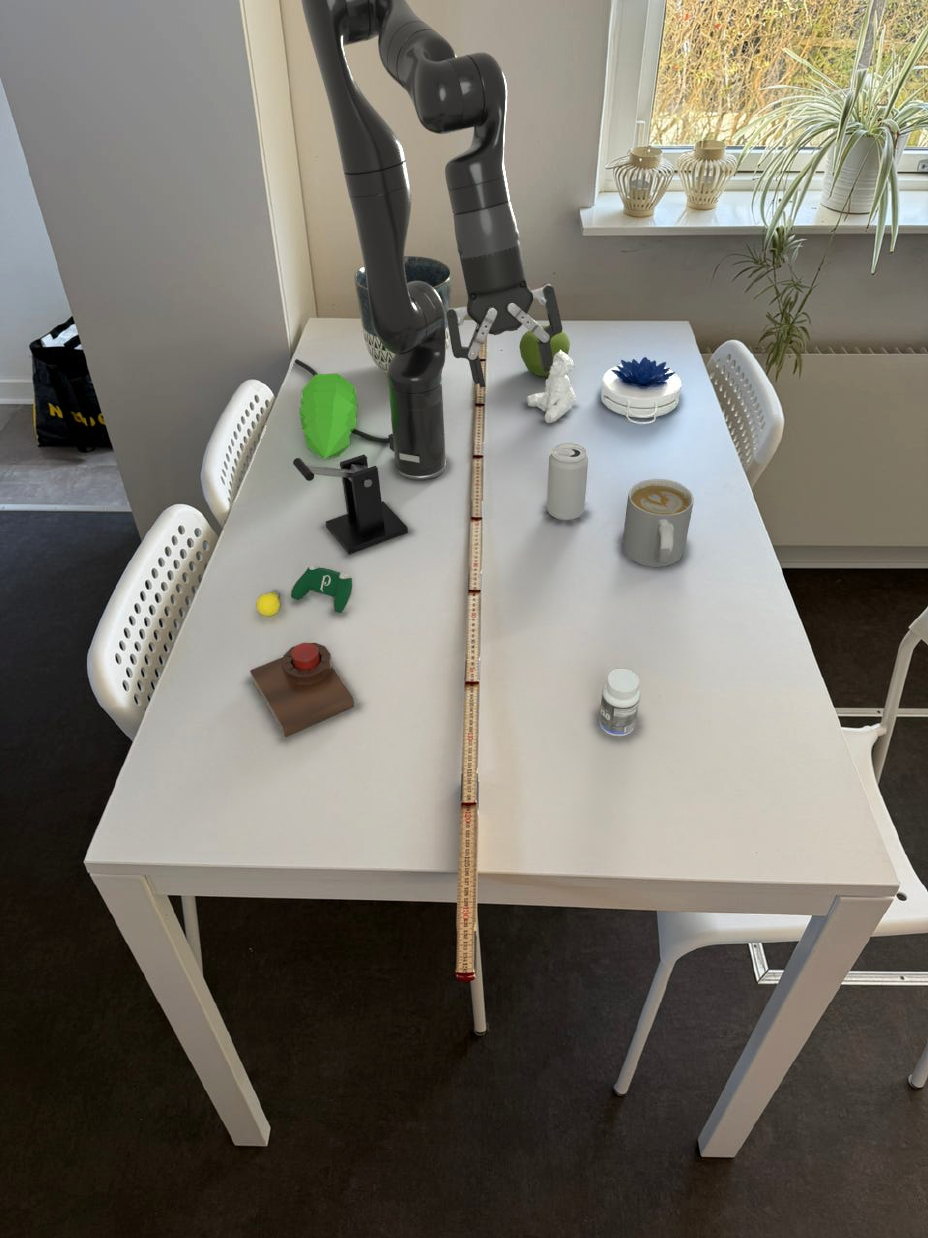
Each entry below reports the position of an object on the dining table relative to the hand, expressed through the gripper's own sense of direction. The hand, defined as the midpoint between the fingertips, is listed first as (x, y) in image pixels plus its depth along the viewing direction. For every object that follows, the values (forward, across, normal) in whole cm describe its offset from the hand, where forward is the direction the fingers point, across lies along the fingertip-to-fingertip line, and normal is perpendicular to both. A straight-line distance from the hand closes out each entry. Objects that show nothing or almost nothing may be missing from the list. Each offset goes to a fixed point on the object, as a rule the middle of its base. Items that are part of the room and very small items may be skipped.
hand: (514, 378), depth 113 cm
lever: (+13, +30, -17) cm, 37 cm away
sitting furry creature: (+22, -11, -58) cm, 63 cm away
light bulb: (+27, +42, -5) cm, 50 cm away
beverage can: (+30, -6, -24) cm, 39 cm away
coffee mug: (+36, -17, -11) cm, 41 cm away
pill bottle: (+42, -3, +22) cm, 47 cm away
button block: (+32, +38, +13) cm, 51 cm away
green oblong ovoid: (+16, +33, -50) cm, 62 cm away
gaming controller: (+28, +34, -6) cm, 45 cm away
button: (+28, +36, +11) cm, 47 cm away
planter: (+12, +16, -77) cm, 79 cm away
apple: (+18, -12, -73) cm, 76 cm away
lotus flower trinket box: (+25, -28, -58) cm, 69 cm away
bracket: (+24, +27, -22) cm, 43 cm away
